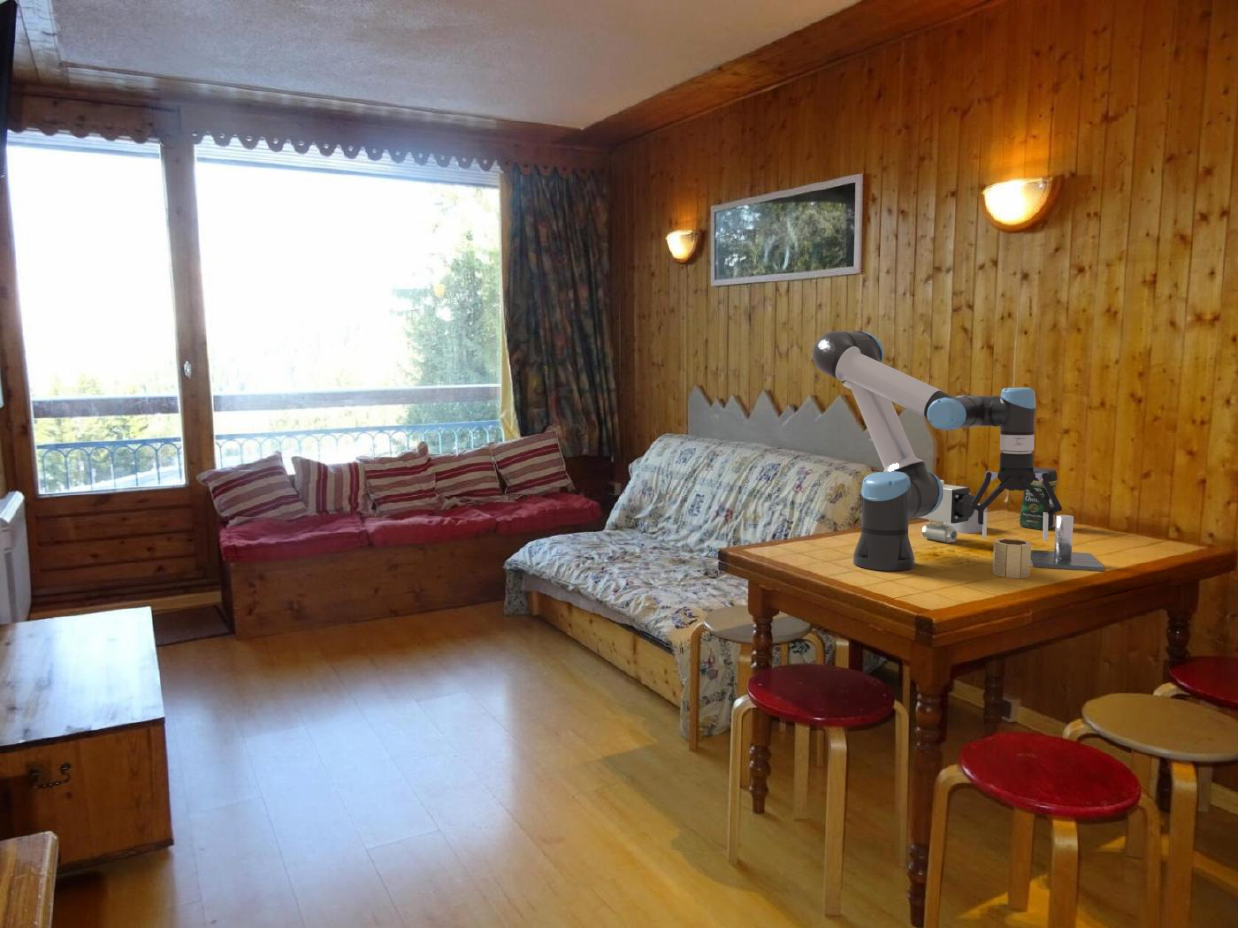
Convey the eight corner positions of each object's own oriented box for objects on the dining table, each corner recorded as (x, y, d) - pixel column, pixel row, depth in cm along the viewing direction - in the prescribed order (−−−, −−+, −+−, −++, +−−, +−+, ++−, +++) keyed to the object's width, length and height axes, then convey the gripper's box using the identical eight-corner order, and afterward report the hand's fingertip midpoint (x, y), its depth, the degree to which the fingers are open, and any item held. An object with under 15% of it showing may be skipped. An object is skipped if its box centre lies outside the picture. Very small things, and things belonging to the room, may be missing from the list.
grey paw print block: (965, 534, 265) (966, 505, 263) (933, 526, 276) (934, 499, 275) (991, 531, 269) (992, 503, 268) (959, 523, 280) (960, 496, 279)
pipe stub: (1032, 566, 224) (1035, 520, 222) (1024, 553, 239) (1026, 509, 237) (1103, 571, 219) (1106, 523, 217) (1090, 556, 234) (1093, 512, 233)
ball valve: (977, 543, 251) (980, 481, 249) (960, 548, 246) (962, 484, 244) (922, 533, 265) (924, 475, 263) (904, 537, 260) (906, 477, 258)
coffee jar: (1015, 526, 274) (1018, 467, 272) (1027, 523, 280) (1030, 465, 277) (1047, 531, 267) (1050, 470, 265) (1058, 527, 272) (1061, 468, 270)
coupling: (994, 576, 215) (996, 544, 214) (991, 569, 222) (993, 537, 221) (1030, 579, 212) (1032, 546, 211) (1026, 571, 220) (1028, 539, 219)
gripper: (962, 453, 214) (960, 539, 216) (1077, 454, 206) (1073, 543, 208) (960, 450, 221) (958, 533, 223) (1071, 450, 213) (1068, 537, 215)
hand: (1014, 538), depth 216 cm, fingers open, 13 cm apart
